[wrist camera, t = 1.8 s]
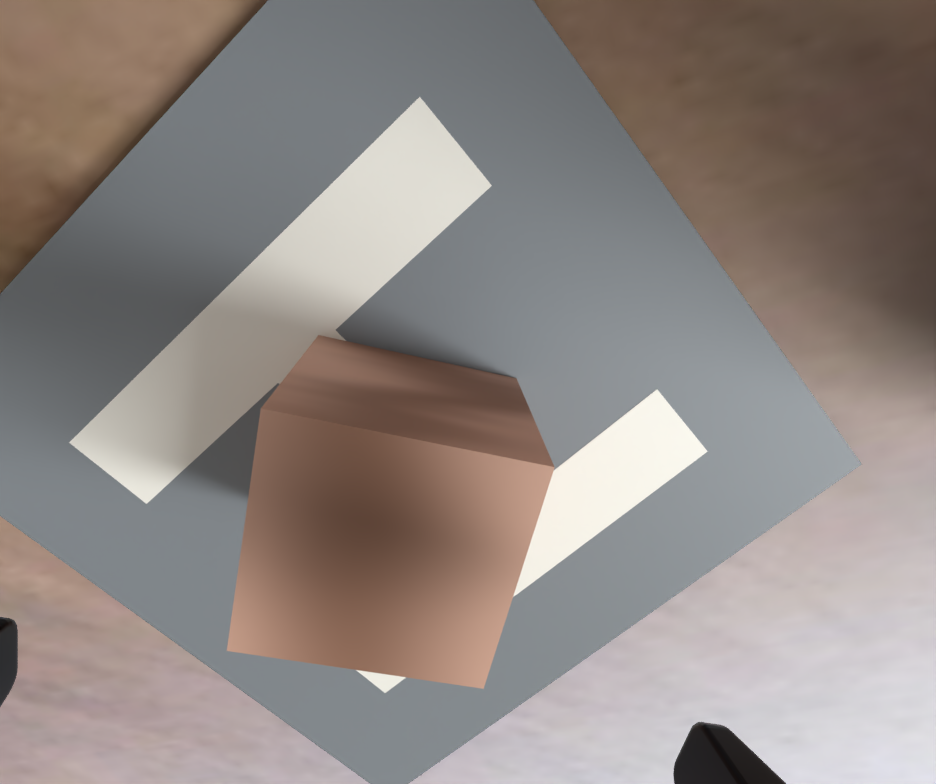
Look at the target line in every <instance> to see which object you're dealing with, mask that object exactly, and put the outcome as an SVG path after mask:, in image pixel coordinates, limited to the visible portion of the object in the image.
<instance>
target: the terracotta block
mask: <svg viewBox="0 0 936 784" xmlns="http://www.w3.org/2000/svg"><path fill="white" fill-rule="evenodd" d="M554 468H555V467H554V465H553V462H552V460H551V458H550V455H549V453H548V451H547V448H546V446H545V444H544V441H543V439H542V437H541V434H540V432H539V430H538V427H537V425H536V423H535V420H534V418H533V416H532V413H531V411H530V409H529V406H528V404H527V402H526V399H525V397H524V395H523V392H522V390H521V388H520V385H519V383H518V381H517V378H513V377H508V376H504V375H499V374H494V373H490V372H485V371H481V370H476V369H472V368H467V367H462V366H458V365H453V364H449V363H444V362H440V361H435V360H431V359H426V358H421V357H417V356H412V355H408V354H403V353H399V352H394V351H389V350H385V349H380V348H376V347H371V346H367V345H362V344H358V343H353V342H348V341H344V340H339V339H335V338H330V337H326V336H321V335H318V336H317V338H316V339H315V340H314V341H313V343H312V344H311V345H310V346H309V348H308V349H307V350H306V352H305V353H304V354H303V355H302V357H301V358H300V359H299V360H298V362H297V363H296V364H295V366H294V367H293V368H292V369H291V371H290V372H289V373H288V374H287V376H286V377H285V378H284V379H283V381H282V382H281V383H280V385H279V386H278V387H277V388H276V390H275V391H274V392H273V393H272V395H271V396H270V397H269V399H268V400H267V401H266V402H265V404H264V405H263V406H262V407H261V411H260V418H259V425H258V432H257V439H256V446H255V453H254V460H253V467H252V475H251V482H250V489H249V496H248V503H247V510H246V517H245V524H244V531H243V539H242V546H241V553H240V560H239V567H238V574H237V581H236V588H235V595H234V603H233V610H232V617H231V624H230V631H229V638H228V645H227V651H231V652H238V653H244V654H251V655H258V656H265V657H272V658H278V659H285V660H292V661H299V662H305V663H312V664H319V665H326V666H333V667H339V668H346V669H353V670H360V671H366V672H373V673H380V674H387V675H394V676H400V677H407V678H414V679H421V680H427V681H434V682H441V683H448V684H454V685H461V686H468V687H475V688H482V689H484V686H485V683H486V680H487V677H488V673H489V670H490V667H491V664H492V661H493V658H494V655H495V652H496V649H497V645H498V642H499V639H500V636H501V633H502V630H503V627H504V624H505V620H506V617H507V614H508V611H509V608H510V605H511V602H512V599H513V596H514V592H515V589H516V586H517V583H518V580H519V577H520V574H521V571H522V568H523V564H524V561H525V558H526V555H527V552H528V549H529V546H530V543H531V539H532V536H533V533H534V530H535V527H536V524H537V521H538V518H539V515H540V511H541V508H542V505H543V502H544V499H545V496H546V493H547V490H548V486H549V483H550V480H551V477H552V474H553V471H554Z"/></svg>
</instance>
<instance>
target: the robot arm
mask: <svg viewBox="0 0 936 784" xmlns="http://www.w3.org/2000/svg"><path fill="white" fill-rule="evenodd" d="M17 668H18V630H17V625H16V623H15V621H14V620H12V619H10V618H4V617H0V707H1V705H2V703H3V702H4V700H5V699H6V697H7V695H8V694H9V692H10V690H11V688H12V686H13V684H14V682H15V679H16V675H17ZM674 783H675V784H786V783H785V782H784V781H783V780H782V779H781V778H780V777H779V776H778V775H777V774H776V773H774V772H773V771H772V770H771V769H770V768H769V767H768V766H767V765H766V764H765V763H764V762H763V761H762V760H761V759H760V758H759V757H758V756H757V755H756V754H755V753H754V752H753V751H751V750H750V749H749V748H748V747H747V746H746V745H745V744H744V743H743V742H742V741H741V740H740V739H739V738H738V737H737V736H736V735H735V734H734V733H733V732H732V731H730V730H729V729H728V728H727V727H725V726H722V725H717V724H711V723H704V722H698V723H696V724H695V725H693V726H692V728H691V730H690V732H689V734H688V736H687V738H686V740H685V742H684V745H683V747H682V749H681V751H680V753H679V755H678V757H677V759H676V762H675V766H674Z"/></svg>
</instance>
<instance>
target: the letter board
mask: <svg viewBox="0 0 936 784" xmlns="http://www.w3.org/2000/svg"><path fill="white" fill-rule="evenodd" d="M318 335H321V336H326V337H330V338H335V339H339V340H344V341H348V342H353V343H358V344H362V345H367V346H371V347H376V348H380V349H385V350H389V351H394V352H399V353H403V354H408V355H412V356H417V357H421V358H426V359H431V360H435V361H440V362H444V363H449V364H453V365H458V366H462V367H467V368H472V369H476V370H481V371H485V372H490V373H494V374H499V375H504V376H508V377H513V378H517V381H518V383H519V385H520V388H521V390H522V392H523V395H524V397H525V399H526V402H527V404H528V406H529V409H530V411H531V413H532V416H533V418H534V420H535V423H536V425H537V427H538V430H539V432H540V434H541V437H542V439H543V441H544V444H545V446H546V448H547V451H548V453H549V455H550V458H551V460H552V462H553V465H554V467H555V468H554V471H553V474H552V477H551V480H550V483H549V486H548V490H547V493H546V496H545V499H544V502H543V505H542V508H541V511H540V515H539V518H538V521H537V524H536V527H535V530H534V533H533V536H532V539H531V543H530V546H529V549H528V552H527V555H526V558H525V561H524V564H523V568H522V571H521V574H520V577H519V580H518V583H517V586H516V589H515V592H514V596H513V599H512V602H511V605H510V608H509V611H508V614H507V617H506V620H505V624H504V627H503V630H502V633H501V636H500V639H499V642H498V645H497V649H496V652H495V655H494V658H493V661H492V664H491V667H490V670H489V673H488V677H487V680H486V683H485V686H484V689H482V688H475V687H468V686H461V685H454V684H448V683H441V682H434V681H427V680H421V679H414V678H407V677H400V676H394V675H387V674H380V673H373V672H366V671H360V670H353V669H346V668H339V667H333V666H326V665H319V664H312V663H305V662H299V661H292V660H285V659H278V658H272V657H265V656H258V655H251V654H244V653H238V652H231V651H227V645H228V638H229V631H230V624H231V617H232V610H233V603H234V595H235V588H236V581H237V574H238V567H239V560H240V553H241V546H242V539H243V531H244V524H245V517H246V510H247V503H248V496H249V489H250V482H251V475H252V467H253V460H254V453H255V446H256V439H257V432H258V425H259V418H260V411H261V407H262V406H263V405H264V404H265V402H266V401H267V400H268V399H269V397H270V396H271V395H272V393H273V392H274V391H275V390H276V388H277V387H278V386H279V385H280V383H281V382H282V381H283V379H284V378H285V377H286V376H287V374H288V373H289V372H290V371H291V369H292V368H293V367H294V366H295V364H296V363H297V362H298V360H299V359H300V358H301V357H302V355H303V354H304V353H305V352H306V350H307V349H308V348H309V346H310V345H311V344H312V343H313V341H314V340H315V339H316V338H317V336H318ZM860 465H861V462H860V461H859V460H858V458H857V457H856V455H855V454H854V453H853V451H852V450H851V448H850V447H849V446H848V444H847V443H846V441H845V440H844V438H843V437H842V436H841V434H840V433H839V431H838V430H837V429H836V427H835V426H834V424H833V423H832V422H831V420H830V419H829V417H828V416H827V414H826V413H825V412H824V410H823V409H822V407H821V406H820V405H819V403H818V402H817V400H816V399H815V397H814V396H813V395H812V393H811V392H810V390H809V389H808V388H807V386H806V385H805V383H804V382H803V381H802V379H801V378H800V376H799V375H798V373H797V372H796V371H795V369H794V368H793V366H792V365H791V364H790V362H789V361H788V359H787V358H786V357H785V355H784V354H783V352H782V351H781V349H780V348H779V347H778V345H777V344H776V342H775V341H774V340H773V338H772V337H771V335H770V334H769V332H768V331H767V330H766V328H765V327H764V325H763V324H762V323H761V321H760V320H759V318H758V317H757V316H756V314H755V313H754V311H753V310H752V308H751V307H750V306H749V304H748V303H747V301H746V300H745V299H744V297H743V296H742V294H741V293H740V291H739V290H738V289H737V287H736V286H735V284H734V283H733V282H732V280H731V279H730V277H729V276H728V275H727V273H726V272H725V270H724V269H723V267H722V266H721V265H720V263H719V262H718V260H717V259H716V258H715V256H714V255H713V253H712V252H711V251H710V249H709V248H708V246H707V245H706V243H705V242H704V241H703V239H702V238H701V236H700V235H699V234H698V232H697V231H696V229H695V228H694V226H693V225H692V224H691V222H690V221H689V219H688V218H687V217H686V215H685V214H684V212H683V211H682V210H681V208H680V207H679V205H678V204H677V202H676V201H675V200H674V198H673V197H672V195H671V194H670V193H669V191H668V190H667V188H666V187H665V185H664V184H663V183H662V181H661V180H660V178H659V177H658V176H657V174H656V173H655V171H654V170H653V169H652V167H651V166H650V164H649V163H648V161H647V160H646V159H645V157H644V156H643V154H642V153H641V152H640V150H639V149H638V147H637V146H636V145H635V143H634V142H633V140H632V139H631V137H630V136H629V135H628V133H627V132H626V130H625V129H624V128H623V126H622V125H621V123H620V122H619V120H618V119H617V118H616V116H615V115H614V113H613V112H612V111H611V109H610V108H609V106H608V105H607V104H606V102H605V101H604V99H603V98H602V96H601V95H600V94H599V92H598V91H597V89H596V88H595V87H594V85H593V84H592V82H591V81H590V79H589V78H588V77H587V75H586V74H585V72H584V71H583V70H582V68H581V67H580V65H579V64H578V63H577V61H576V60H575V58H574V57H573V55H572V54H571V53H570V51H569V50H568V48H567V47H566V46H565V44H564V43H563V41H562V40H561V39H560V37H559V36H558V34H557V33H556V31H555V30H554V29H553V27H552V26H551V24H550V23H549V22H548V20H547V19H546V17H545V16H544V14H543V13H542V12H541V10H540V9H539V7H538V6H537V5H536V3H535V2H534V0H268V1H267V2H266V3H265V4H264V5H263V7H262V8H261V9H260V10H259V11H258V12H257V13H256V14H255V15H254V16H253V18H252V19H251V20H250V21H249V22H248V23H247V24H246V25H245V26H244V27H243V28H242V30H241V31H240V32H239V33H238V34H237V35H236V36H235V37H234V38H233V39H232V41H231V42H230V43H229V44H228V45H227V46H226V47H225V48H224V49H223V50H222V51H221V53H220V54H219V55H218V56H217V57H216V58H215V59H214V60H213V61H212V62H211V64H210V65H209V66H208V67H207V68H206V69H205V70H204V71H203V72H202V73H201V74H200V76H199V77H198V78H197V79H196V80H195V81H194V82H193V83H192V84H191V85H190V87H189V88H188V89H187V90H186V91H185V92H184V93H183V94H182V95H181V96H180V98H179V99H178V100H177V101H176V102H175V103H174V104H173V105H172V106H171V107H170V108H169V110H168V111H167V112H166V113H165V114H164V115H163V116H162V117H161V118H160V119H159V121H158V122H157V123H156V124H155V125H154V126H153V127H152V128H151V129H150V130H149V131H148V133H147V134H146V135H145V136H144V137H143V138H142V139H141V140H140V141H139V142H138V144H137V145H136V146H135V147H134V148H133V149H132V150H131V151H130V152H129V153H128V154H127V156H126V157H125V158H124V159H123V160H122V161H121V162H120V163H119V164H118V165H117V167H116V168H115V169H114V170H113V171H112V172H111V173H110V174H109V175H108V176H107V177H106V179H105V180H104V181H103V182H102V183H101V184H100V185H99V186H98V187H97V188H96V190H95V191H94V192H93V193H92V194H91V195H90V196H89V197H88V198H87V199H86V200H85V202H84V203H83V204H82V205H81V206H80V207H79V208H78V209H77V210H76V211H75V213H74V214H73V215H72V216H71V217H70V218H69V219H68V220H67V221H66V222H65V224H64V225H63V226H62V227H61V228H60V229H59V230H58V231H57V232H56V233H55V234H54V236H53V237H52V238H51V239H50V240H49V241H48V242H47V243H46V244H45V245H44V247H43V248H42V249H41V250H40V251H39V252H38V253H37V254H36V255H35V256H34V257H33V259H32V260H31V261H30V262H29V263H28V264H27V265H26V266H25V267H24V268H23V270H22V271H21V272H20V273H19V274H18V275H17V276H16V277H15V278H14V279H13V280H12V282H11V283H10V284H9V285H8V286H7V287H6V288H5V289H4V290H3V291H2V293H1V294H0V516H1V517H2V518H4V519H5V520H7V521H8V522H9V523H11V524H12V525H13V526H15V527H16V528H18V529H19V530H20V531H22V532H23V533H25V534H26V535H27V536H29V537H30V538H31V539H33V540H34V541H36V542H37V543H38V544H40V545H41V546H42V547H44V548H45V549H47V550H48V551H49V552H51V553H52V554H54V555H55V556H56V557H58V558H59V559H60V560H62V561H63V562H65V563H66V564H67V565H69V566H70V567H71V568H73V569H74V570H76V571H77V572H78V573H80V574H81V575H83V576H84V577H85V578H87V579H88V580H89V581H91V582H92V583H94V584H95V585H96V586H98V587H99V588H101V589H102V590H103V591H105V592H106V593H107V594H109V595H110V596H112V597H113V598H114V599H116V600H117V601H118V602H120V603H121V604H123V605H124V606H125V607H127V608H128V609H130V610H131V611H132V612H134V613H135V614H136V615H138V616H139V617H141V618H142V619H143V620H145V621H146V622H148V623H149V624H150V625H152V626H153V627H154V628H156V629H157V630H159V631H160V632H161V633H163V634H164V635H165V636H167V637H168V638H170V639H171V640H172V641H174V642H175V643H177V644H178V645H179V646H181V647H182V648H183V649H185V650H186V651H188V652H189V653H190V654H192V655H193V656H195V657H196V658H197V659H199V660H200V661H201V662H203V663H204V664H206V665H207V666H208V667H210V668H211V669H212V670H214V671H215V672H217V673H218V674H219V675H221V676H222V677H224V678H225V679H226V680H228V681H229V682H230V683H232V684H233V685H235V686H236V687H237V688H239V689H240V690H242V691H243V692H244V693H246V694H247V695H248V696H250V697H251V698H253V699H254V700H255V701H257V702H258V703H259V704H261V705H262V706H264V707H265V708H266V709H268V710H269V711H271V712H272V713H273V714H275V715H276V716H277V717H279V718H280V719H282V720H283V721H284V722H286V723H287V724H289V725H290V726H291V727H293V728H294V729H295V730H297V731H298V732H300V733H301V734H302V735H304V736H305V737H306V738H308V739H309V740H311V741H312V742H313V743H315V744H316V745H318V746H319V747H320V748H322V749H323V750H324V751H326V752H327V753H329V754H330V755H331V756H333V757H334V758H336V759H337V760H338V761H340V762H341V763H342V764H344V765H345V766H347V767H348V768H349V769H351V770H352V771H353V772H355V773H356V774H358V775H359V776H360V777H362V778H363V779H365V780H366V781H367V782H369V783H370V784H408V783H410V782H411V781H413V780H414V779H416V778H417V777H418V776H420V775H421V774H423V773H424V772H425V771H427V770H428V769H430V768H431V767H433V766H434V765H435V764H437V763H438V762H440V761H441V760H442V759H444V758H445V757H447V756H448V755H450V754H451V753H452V752H454V751H455V750H457V749H458V748H460V747H461V746H462V745H464V744H465V743H467V742H468V741H469V740H471V739H472V738H474V737H475V736H477V735H478V734H479V733H481V732H482V731H484V730H485V729H487V728H488V727H489V726H491V725H492V724H494V723H495V722H496V721H498V720H499V719H501V718H502V717H504V716H505V715H506V714H508V713H509V712H511V711H512V710H513V709H515V708H516V707H518V706H519V705H521V704H522V703H523V702H525V701H526V700H528V699H529V698H531V697H532V696H533V695H535V694H536V693H538V692H539V691H540V690H542V689H543V688H545V687H546V686H548V685H549V684H550V683H552V682H553V681H555V680H556V679H557V678H559V677H560V676H562V675H563V674H565V673H566V672H567V671H569V670H570V669H572V668H573V667H575V666H576V665H577V664H579V663H580V662H582V661H583V660H584V659H586V658H587V657H589V656H590V655H592V654H593V653H594V652H596V651H597V650H599V649H600V648H601V647H603V646H604V645H606V644H607V643H609V642H610V641H611V640H613V639H614V638H616V637H617V636H619V635H620V634H621V633H623V632H624V631H626V630H627V629H628V628H630V627H631V626H633V625H634V624H636V623H637V622H638V621H640V620H641V619H643V618H644V617H646V616H647V615H648V614H650V613H651V612H653V611H654V610H655V609H657V608H658V607H660V606H661V605H663V604H664V603H665V602H667V601H668V600H670V599H671V598H672V597H674V596H675V595H677V594H678V593H680V592H681V591H682V590H684V589H685V588H687V587H688V586H690V585H691V584H692V583H694V582H695V581H697V580H698V579H699V578H701V577H702V576H704V575H705V574H707V573H708V572H709V571H711V570H712V569H714V568H715V567H716V566H718V565H719V564H721V563H722V562H724V561H725V560H726V559H728V558H729V557H731V556H732V555H734V554H735V553H736V552H738V551H739V550H741V549H742V548H743V547H745V546H746V545H748V544H749V543H751V542H752V541H753V540H755V539H756V538H758V537H759V536H760V535H762V534H763V533H765V532H766V531H768V530H769V529H770V528H772V527H773V526H775V525H776V524H778V523H779V522H780V521H782V520H783V519H785V518H786V517H787V516H789V515H790V514H792V513H793V512H795V511H796V510H797V509H799V508H800V507H802V506H803V505H805V504H806V503H807V502H809V501H810V500H812V499H813V498H814V497H816V496H817V495H819V494H820V493H822V492H823V491H824V490H826V489H827V488H829V487H830V486H831V485H833V484H834V483H836V482H837V481H839V480H840V479H841V478H843V477H844V476H846V475H847V474H849V473H850V472H851V471H853V470H854V469H856V468H857V467H858V466H860Z"/></svg>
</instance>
